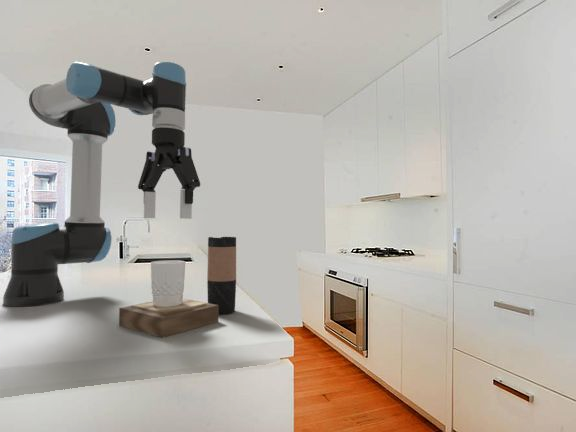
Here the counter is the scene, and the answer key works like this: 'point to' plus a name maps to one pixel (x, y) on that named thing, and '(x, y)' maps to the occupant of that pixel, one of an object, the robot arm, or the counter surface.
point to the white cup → (167, 282)
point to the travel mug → (222, 273)
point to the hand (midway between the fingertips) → (166, 218)
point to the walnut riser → (168, 317)
